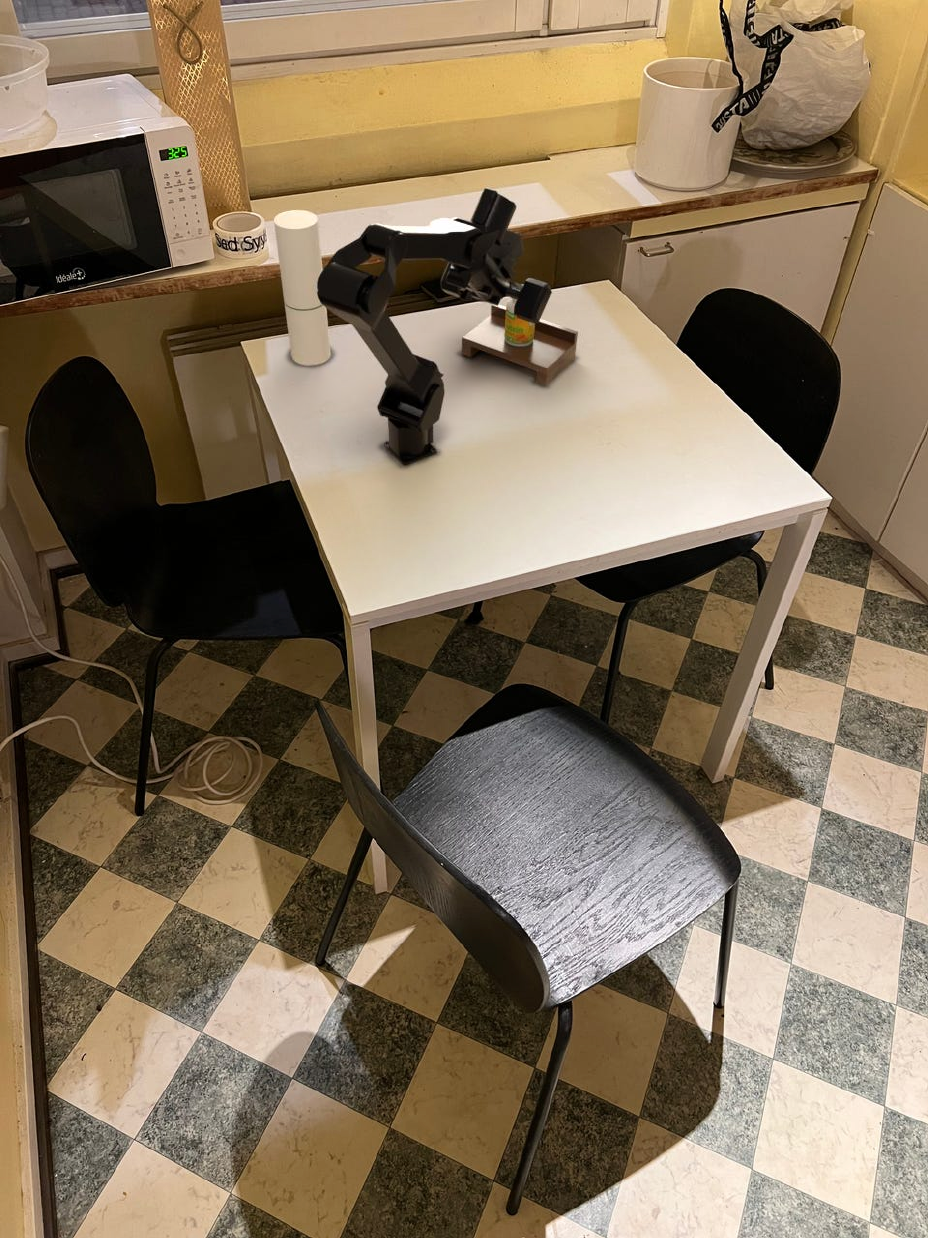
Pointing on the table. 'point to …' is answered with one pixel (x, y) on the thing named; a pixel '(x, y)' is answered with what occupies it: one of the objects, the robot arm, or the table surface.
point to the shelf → (542, 355)
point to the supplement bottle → (517, 327)
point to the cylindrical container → (302, 285)
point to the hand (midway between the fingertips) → (510, 306)
